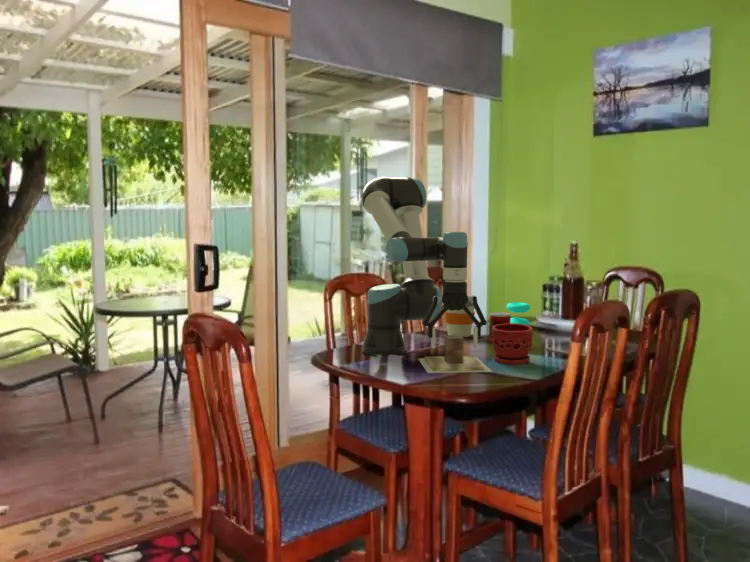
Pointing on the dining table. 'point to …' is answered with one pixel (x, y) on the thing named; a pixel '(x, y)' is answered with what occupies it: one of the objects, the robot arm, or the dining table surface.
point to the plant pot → (512, 343)
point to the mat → (451, 371)
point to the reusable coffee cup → (459, 321)
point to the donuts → (518, 308)
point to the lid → (454, 357)
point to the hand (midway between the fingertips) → (454, 347)
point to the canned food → (497, 321)
